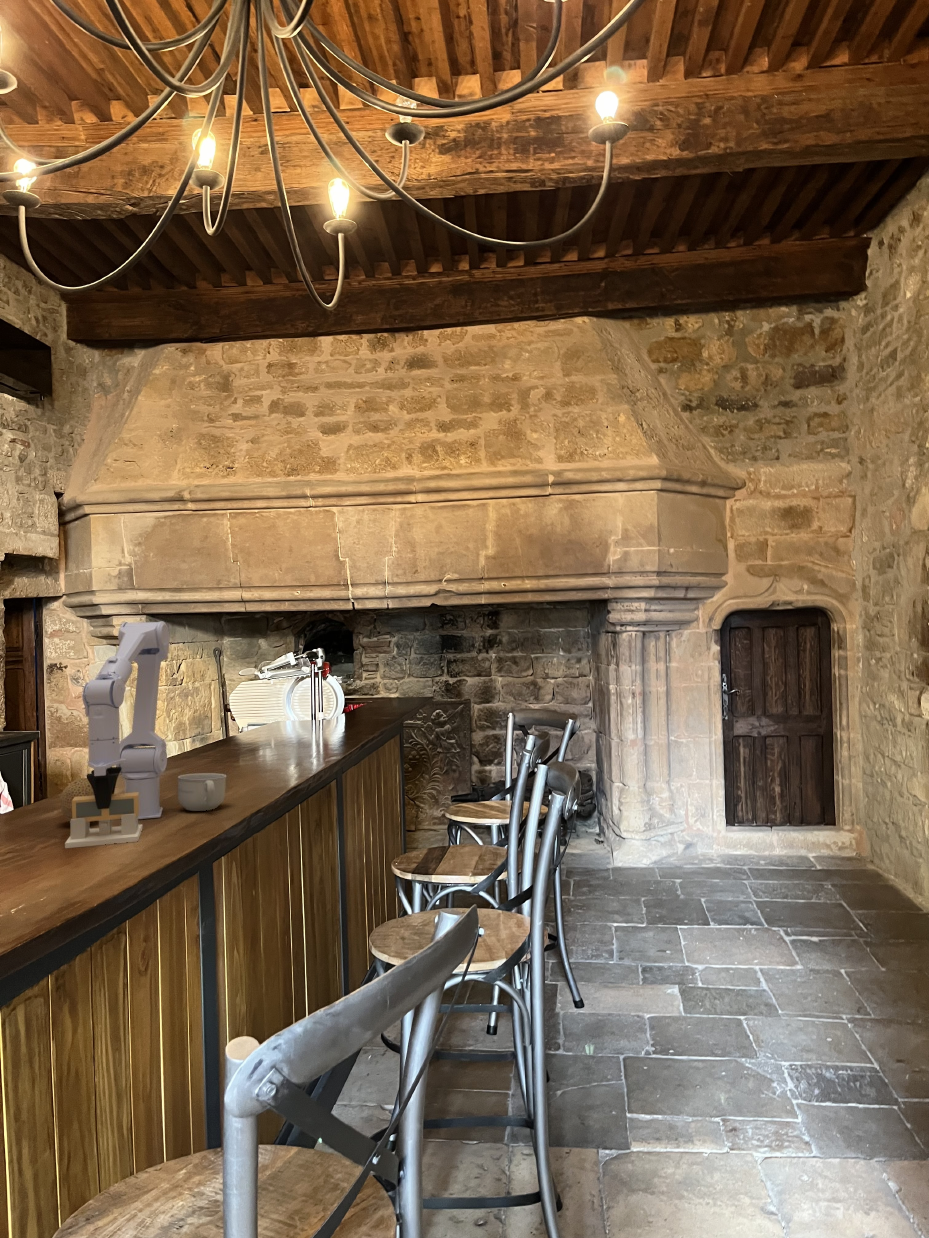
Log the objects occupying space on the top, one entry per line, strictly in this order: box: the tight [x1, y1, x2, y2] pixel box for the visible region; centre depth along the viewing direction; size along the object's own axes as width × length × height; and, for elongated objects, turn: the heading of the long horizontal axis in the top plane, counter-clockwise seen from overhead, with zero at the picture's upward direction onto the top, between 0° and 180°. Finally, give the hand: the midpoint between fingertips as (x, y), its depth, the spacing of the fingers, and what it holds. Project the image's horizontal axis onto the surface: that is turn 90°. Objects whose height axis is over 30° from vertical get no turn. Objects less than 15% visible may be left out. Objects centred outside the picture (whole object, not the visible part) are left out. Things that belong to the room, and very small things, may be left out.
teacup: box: [177, 772, 227, 812], centre depth 186 cm, size 14×11×8 cm
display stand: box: [64, 814, 143, 849], centre depth 161 cm, size 11×13×5 cm
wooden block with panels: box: [72, 792, 139, 822], centre depth 161 cm, size 4×12×4 cm, turn 108°
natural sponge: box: [59, 777, 94, 820], centre depth 174 cm, size 9×9×10 cm
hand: (105, 806), depth 161 cm, fingers open, 4 cm apart
